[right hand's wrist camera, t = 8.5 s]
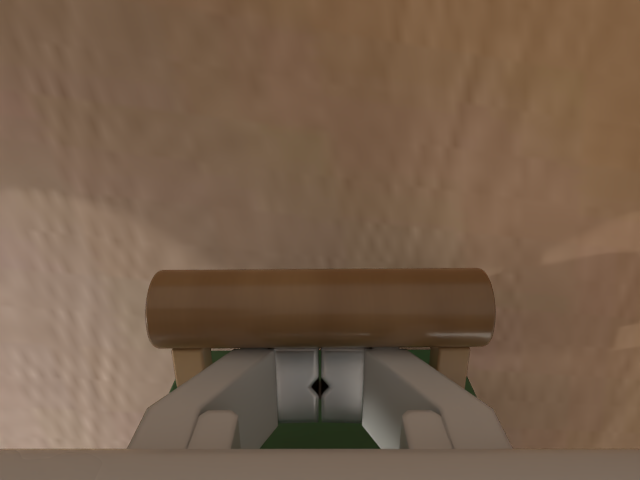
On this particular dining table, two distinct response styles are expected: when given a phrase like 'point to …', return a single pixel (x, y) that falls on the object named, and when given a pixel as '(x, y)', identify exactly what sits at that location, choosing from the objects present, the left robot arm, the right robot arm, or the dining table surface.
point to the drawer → (321, 323)
